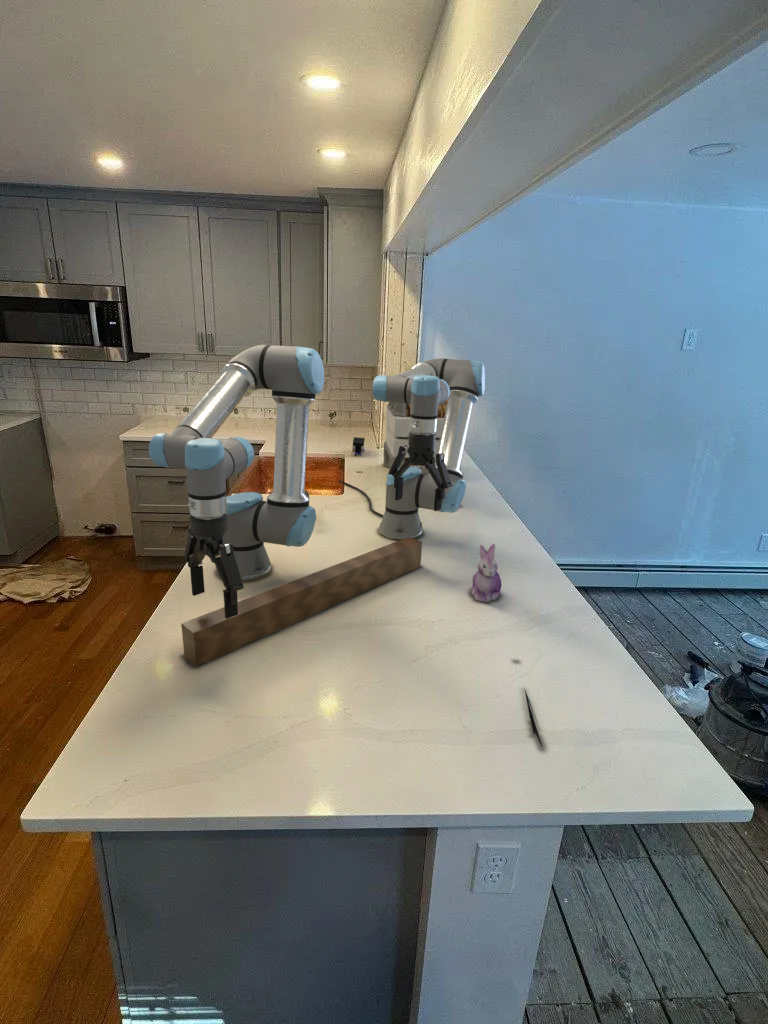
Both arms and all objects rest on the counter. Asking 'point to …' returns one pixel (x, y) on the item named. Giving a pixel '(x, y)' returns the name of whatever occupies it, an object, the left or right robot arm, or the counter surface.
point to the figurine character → (358, 445)
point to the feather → (532, 718)
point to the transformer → (405, 430)
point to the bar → (296, 600)
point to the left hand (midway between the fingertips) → (214, 604)
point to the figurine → (486, 576)
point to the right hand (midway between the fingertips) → (417, 504)
